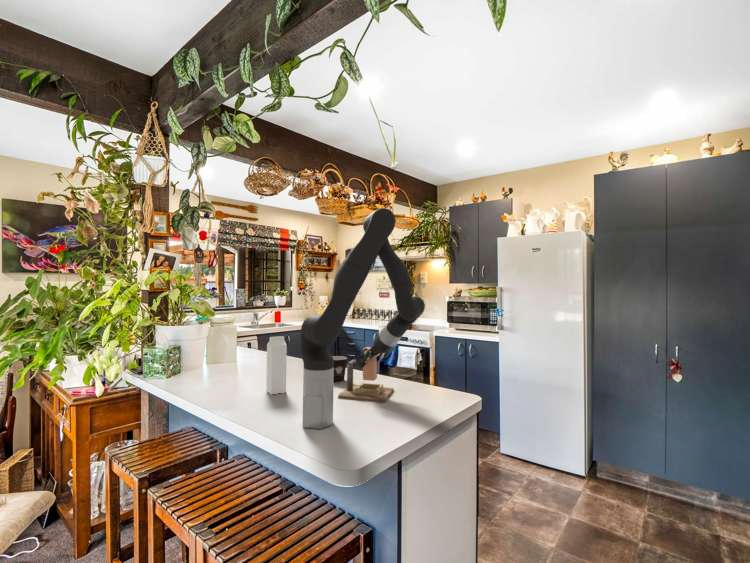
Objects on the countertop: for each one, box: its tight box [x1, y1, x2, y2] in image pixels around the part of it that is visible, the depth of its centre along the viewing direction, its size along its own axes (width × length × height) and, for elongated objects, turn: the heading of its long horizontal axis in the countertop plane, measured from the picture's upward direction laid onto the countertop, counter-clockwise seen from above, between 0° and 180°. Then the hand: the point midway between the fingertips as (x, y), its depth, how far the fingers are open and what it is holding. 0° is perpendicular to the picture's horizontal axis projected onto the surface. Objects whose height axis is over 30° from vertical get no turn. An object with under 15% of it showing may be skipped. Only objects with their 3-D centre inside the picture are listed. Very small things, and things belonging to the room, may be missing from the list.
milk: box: [265, 335, 288, 396], centre depth 148 cm, size 6×6×22 cm
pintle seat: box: [337, 359, 394, 403], centre depth 146 cm, size 16×18×12 cm
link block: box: [362, 346, 378, 382], centre depth 146 cm, size 4×4×12 cm
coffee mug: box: [331, 355, 348, 383], centre depth 167 cm, size 12×9×10 cm
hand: (367, 364), depth 148 cm, fingers closed on link block, 6 cm apart
